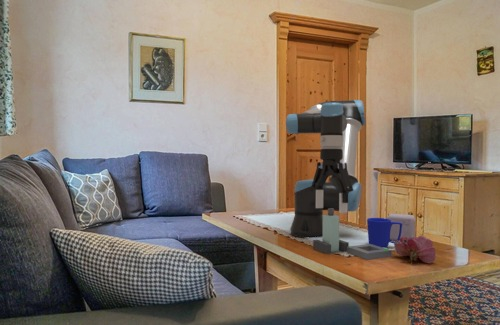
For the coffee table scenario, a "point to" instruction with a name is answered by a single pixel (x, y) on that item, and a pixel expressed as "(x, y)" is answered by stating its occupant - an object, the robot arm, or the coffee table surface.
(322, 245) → the holster
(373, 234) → the mug
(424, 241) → the flower
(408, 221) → the electronic device
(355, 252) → the port
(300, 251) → the coffee table surface
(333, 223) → the plug
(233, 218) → the coffee table surface
